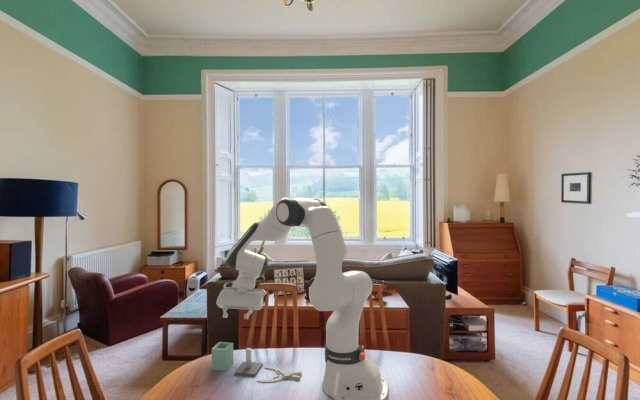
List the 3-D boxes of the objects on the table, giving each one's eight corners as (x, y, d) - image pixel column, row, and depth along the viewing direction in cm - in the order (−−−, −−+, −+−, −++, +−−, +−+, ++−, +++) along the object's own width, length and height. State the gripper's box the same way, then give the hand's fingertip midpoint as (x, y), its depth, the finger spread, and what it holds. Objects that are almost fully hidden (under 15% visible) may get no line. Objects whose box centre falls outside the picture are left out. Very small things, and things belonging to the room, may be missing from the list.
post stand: (262, 365, 128) (262, 345, 127) (255, 376, 120) (254, 355, 120) (243, 363, 129) (242, 343, 129) (234, 374, 121) (234, 353, 121)
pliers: (265, 364, 126) (303, 367, 124) (265, 368, 126) (303, 371, 124) (256, 378, 116) (298, 382, 114) (256, 383, 116) (298, 386, 114)
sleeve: (233, 363, 130) (233, 342, 129) (226, 371, 124) (226, 350, 124) (219, 361, 131) (219, 341, 130) (211, 369, 125) (211, 348, 125)
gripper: (267, 292, 149) (260, 322, 139) (225, 290, 152) (215, 319, 143) (264, 285, 144) (256, 316, 135) (220, 283, 148) (210, 313, 138)
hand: (235, 317), depth 139 cm, fingers open, 8 cm apart
